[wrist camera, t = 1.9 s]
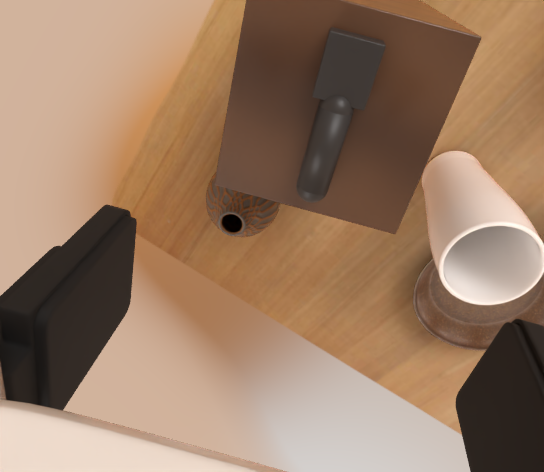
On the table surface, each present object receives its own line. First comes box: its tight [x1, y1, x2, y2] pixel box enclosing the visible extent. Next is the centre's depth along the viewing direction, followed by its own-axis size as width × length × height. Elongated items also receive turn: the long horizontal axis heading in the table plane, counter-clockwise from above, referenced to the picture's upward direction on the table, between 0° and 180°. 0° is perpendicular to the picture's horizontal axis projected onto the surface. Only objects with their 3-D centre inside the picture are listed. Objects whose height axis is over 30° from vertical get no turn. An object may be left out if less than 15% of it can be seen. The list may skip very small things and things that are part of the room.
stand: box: [214, 0, 481, 234], centre depth 30 cm, size 10×10×20 cm
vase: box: [206, 173, 280, 237], centre depth 43 cm, size 7×7×9 cm
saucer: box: [413, 241, 544, 351], centre depth 47 cm, size 15×15×3 cm
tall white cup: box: [422, 151, 544, 305], centre depth 37 cm, size 7×7×15 cm
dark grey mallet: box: [296, 27, 386, 203], centre depth 21 cm, size 8×2×2 cm, turn 167°
